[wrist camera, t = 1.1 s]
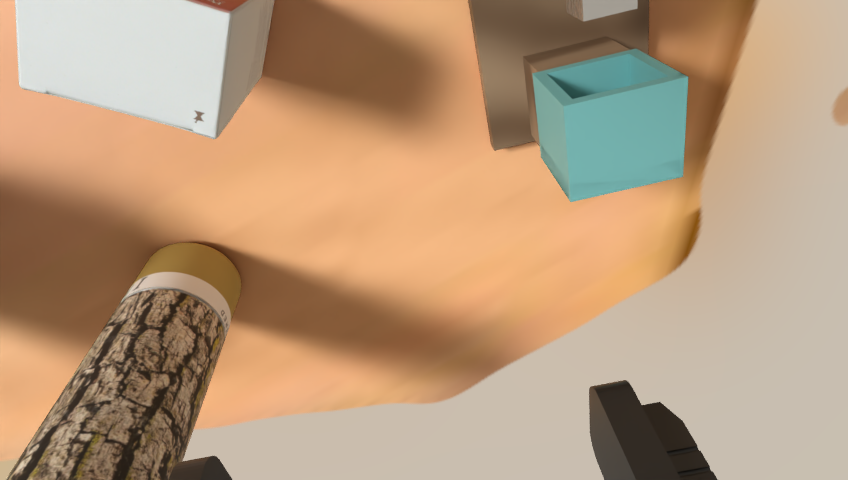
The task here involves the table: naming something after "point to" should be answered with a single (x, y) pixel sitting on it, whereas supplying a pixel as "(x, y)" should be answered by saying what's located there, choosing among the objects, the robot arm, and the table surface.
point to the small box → (146, 56)
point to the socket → (611, 123)
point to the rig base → (539, 54)
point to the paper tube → (141, 375)
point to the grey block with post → (598, 8)
